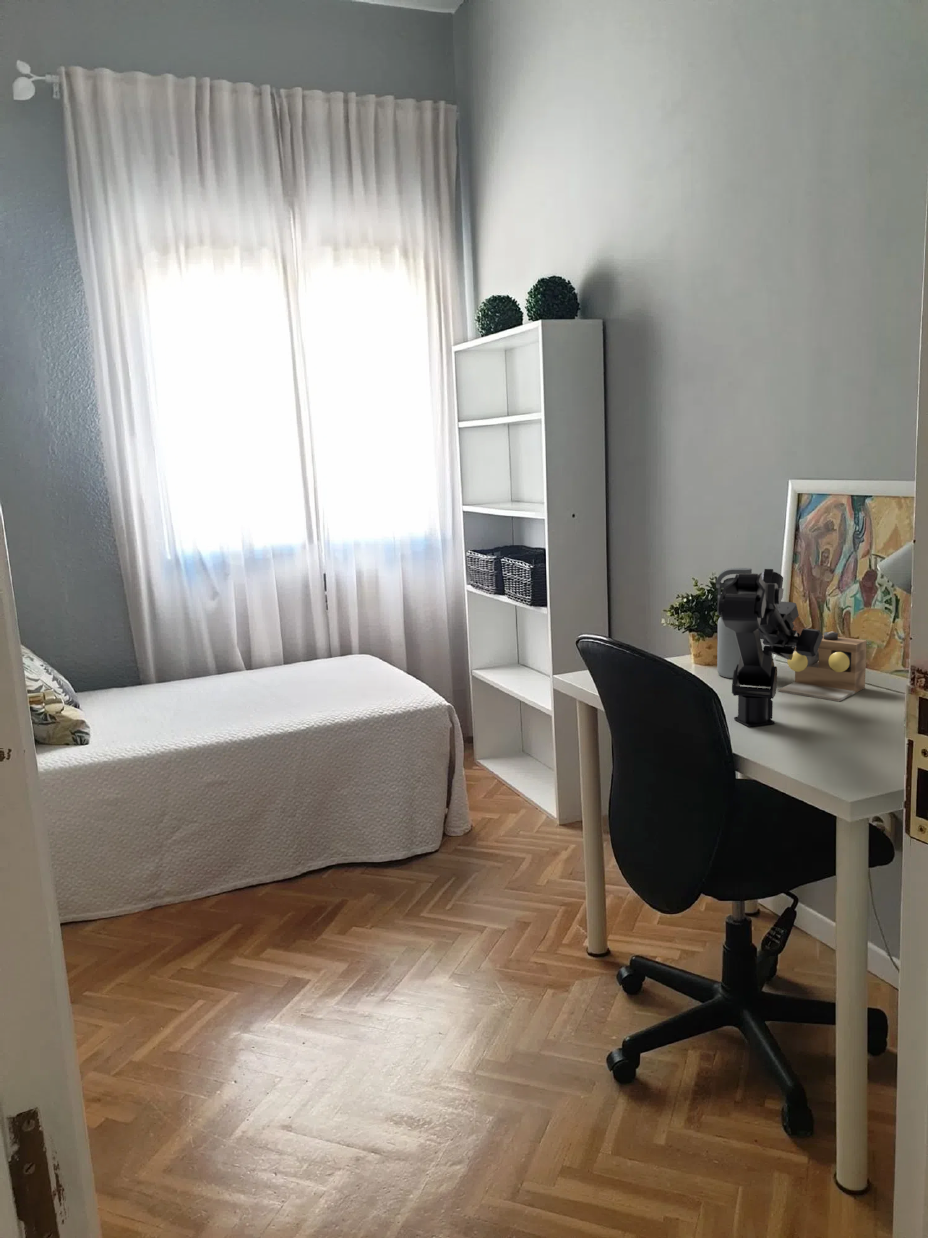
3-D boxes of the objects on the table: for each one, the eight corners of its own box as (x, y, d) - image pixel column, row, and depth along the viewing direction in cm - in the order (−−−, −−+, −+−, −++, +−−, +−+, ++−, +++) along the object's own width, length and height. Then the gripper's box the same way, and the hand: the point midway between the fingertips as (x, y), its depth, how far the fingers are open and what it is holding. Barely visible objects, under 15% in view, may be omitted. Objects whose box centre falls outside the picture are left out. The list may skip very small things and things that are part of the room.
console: (839, 701, 223) (840, 644, 220) (778, 691, 233) (779, 636, 231) (864, 688, 233) (866, 633, 230) (805, 679, 243) (807, 626, 241)
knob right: (847, 673, 227) (848, 653, 226) (828, 670, 231) (828, 651, 230) (861, 667, 233) (862, 647, 232) (842, 664, 236) (842, 645, 235)
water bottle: (714, 678, 248) (715, 571, 242) (716, 669, 257) (717, 566, 251) (755, 680, 245) (757, 571, 239) (756, 670, 254) (757, 566, 248)
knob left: (806, 673, 229) (806, 653, 229) (787, 670, 233) (787, 650, 232) (820, 666, 235) (821, 647, 234) (801, 663, 238) (802, 645, 237)
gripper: (820, 596, 215) (839, 634, 225) (744, 589, 228) (765, 626, 238) (803, 636, 211) (824, 674, 221) (727, 627, 224) (750, 663, 234)
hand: (790, 658), depth 229 cm, fingers closed
